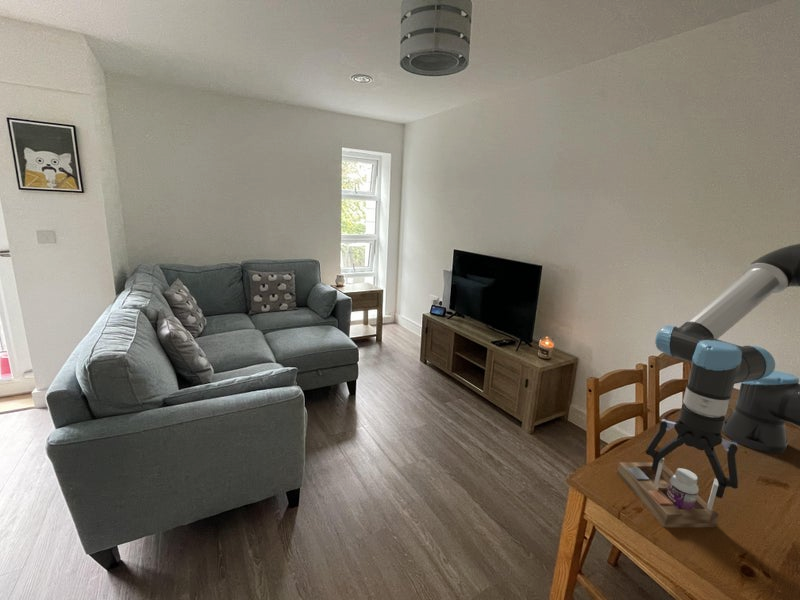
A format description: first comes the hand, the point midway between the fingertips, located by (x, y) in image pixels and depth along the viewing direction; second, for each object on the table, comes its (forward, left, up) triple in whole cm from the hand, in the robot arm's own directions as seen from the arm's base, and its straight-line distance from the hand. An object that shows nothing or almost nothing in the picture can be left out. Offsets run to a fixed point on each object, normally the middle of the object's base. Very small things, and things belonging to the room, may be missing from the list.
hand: (682, 494), depth 86 cm
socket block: (+1, -4, -5) cm, 6 cm away
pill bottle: (0, 0, -4) cm, 4 cm away
